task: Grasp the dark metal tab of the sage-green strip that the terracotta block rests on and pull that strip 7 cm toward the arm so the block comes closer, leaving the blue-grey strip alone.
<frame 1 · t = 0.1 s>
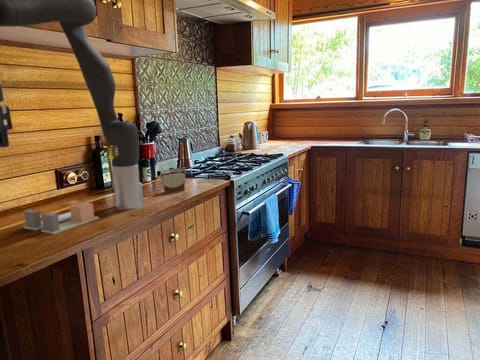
food container: (172, 191, 169), on the countertop
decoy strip: (52, 213, 123), point 4 cm above the countertop, slide at 0.0 cm
syrup box: (121, 190, 176), on the countertop
block strip: (70, 216, 119), point 4 cm above the countertop, slide at 0.0 cm, touching block
block: (83, 219, 123), point 2 cm above the countertop, touching block strip
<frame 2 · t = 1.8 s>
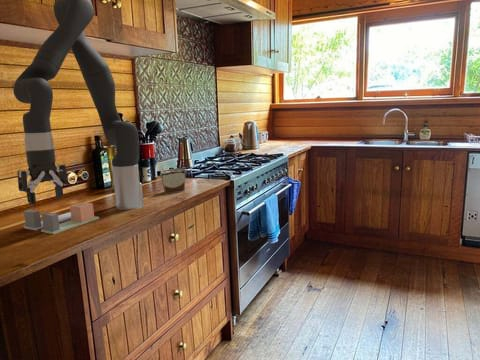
hand: (46, 201, 112), 11 cm above the countertop, fingers open, 8 cm apart
nothing on the countertop moved.
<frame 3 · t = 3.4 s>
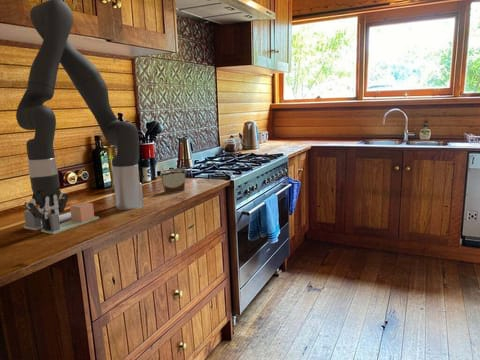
hand: (51, 228, 114), 2 cm above the countertop, fingers closed on block strip, 2 cm apart
block strip: (70, 216, 119), point 4 cm above the countertop, slide at 0.0 cm, touching block, gripper
everything else where it was.
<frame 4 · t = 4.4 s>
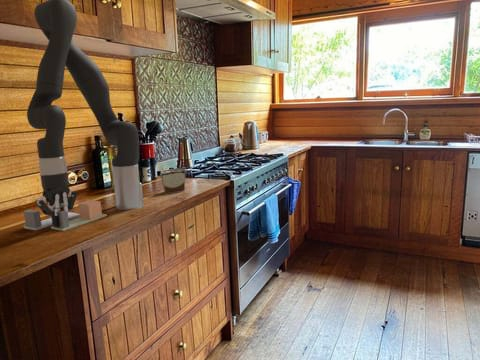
hand: (61, 225, 116), 2 cm above the countertop, fingers closed on block strip, 2 cm apart
block strip: (79, 213, 122), point 4 cm above the countertop, slide at 3.3 cm, touching block, gripper
block: (91, 216, 126), point 2 cm above the countertop, touching block strip
everything else where it was.
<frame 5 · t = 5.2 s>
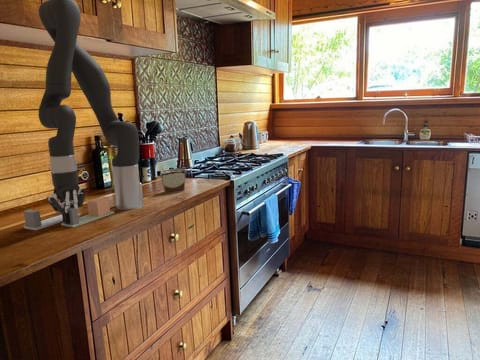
hand: (70, 222, 119), 2 cm above the countertop, fingers closed on block strip, 2 cm apart
block strip: (88, 211, 125), point 4 cm above the countertop, slide at 6.9 cm, touching block, gripper
block: (99, 213, 129), point 2 cm above the countertop, touching block strip
everything else where it was.
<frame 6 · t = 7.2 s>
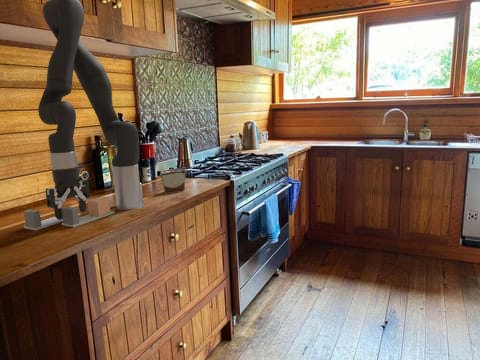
hand: (71, 215, 119), 4 cm above the countertop, fingers open, 8 cm apart
block strip: (88, 210, 125), point 4 cm above the countertop, slide at 7.0 cm, touching block
everything else where it was.
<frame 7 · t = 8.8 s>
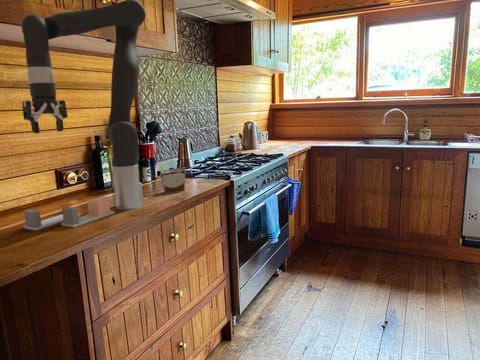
hand: (48, 132, 123), 31 cm above the countertop, fingers open, 8 cm apart
nothing on the countertop moved.
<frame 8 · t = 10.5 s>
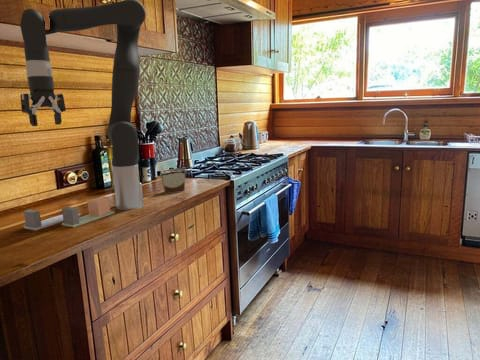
hand: (46, 125, 125), 33 cm above the countertop, fingers open, 8 cm apart
nothing on the countertop moved.
at the end: block strip slide at 7.0 cm; block inside the target area (0.0 cm from its centre), point 1.9 cm above the countertop; block tilted 0° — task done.
